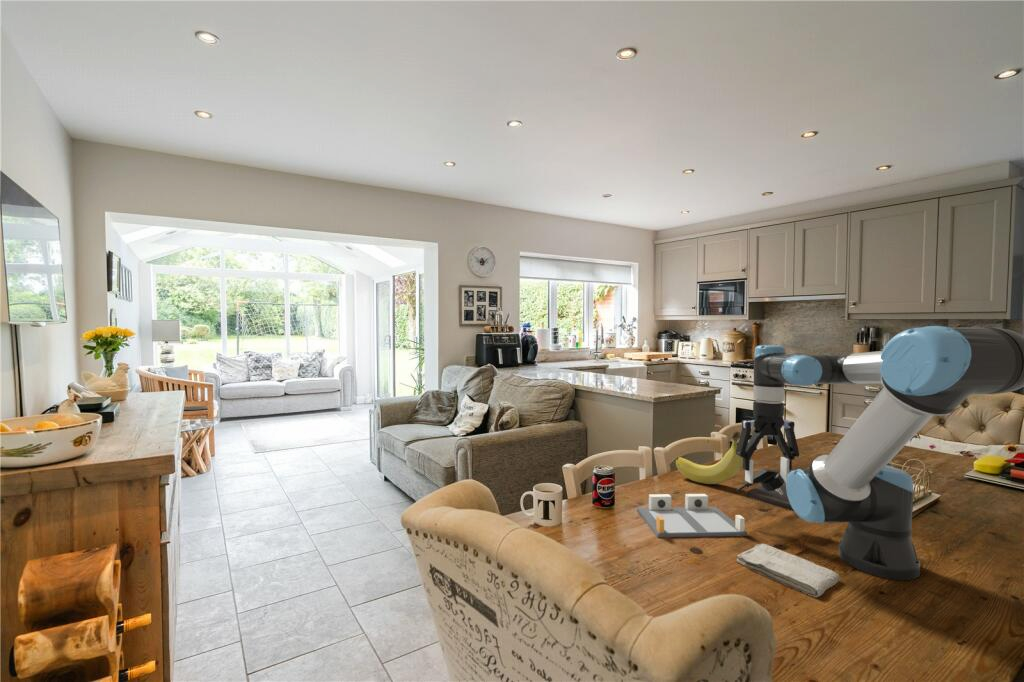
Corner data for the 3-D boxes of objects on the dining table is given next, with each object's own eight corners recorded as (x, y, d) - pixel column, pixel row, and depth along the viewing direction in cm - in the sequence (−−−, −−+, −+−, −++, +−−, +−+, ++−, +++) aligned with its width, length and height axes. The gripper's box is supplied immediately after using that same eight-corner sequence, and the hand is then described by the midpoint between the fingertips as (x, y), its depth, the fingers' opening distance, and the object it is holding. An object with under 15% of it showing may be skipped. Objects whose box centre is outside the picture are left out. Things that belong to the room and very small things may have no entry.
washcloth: (758, 550, 118) (759, 538, 118) (842, 583, 103) (842, 569, 103) (733, 565, 111) (733, 552, 111) (819, 602, 96) (819, 587, 96)
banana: (671, 478, 171) (673, 423, 170) (678, 474, 175) (679, 420, 174) (738, 493, 155) (739, 433, 155) (743, 489, 160) (745, 430, 159)
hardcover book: (771, 488, 162) (771, 481, 162) (848, 511, 143) (849, 503, 143) (746, 497, 153) (746, 490, 153) (824, 523, 134) (825, 515, 134)
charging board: (747, 535, 125) (747, 517, 125) (657, 537, 124) (657, 518, 123) (716, 510, 142) (716, 493, 142) (637, 511, 141) (637, 494, 140)
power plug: (732, 484, 136) (768, 461, 135) (747, 506, 136) (784, 483, 135) (739, 491, 130) (777, 467, 129) (755, 514, 130) (793, 490, 129)
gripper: (798, 399, 135) (796, 476, 136) (722, 399, 134) (721, 477, 135) (816, 403, 128) (814, 485, 128) (736, 403, 127) (734, 486, 127)
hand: (766, 481), depth 132 cm, fingers closed on power plug, 9 cm apart
